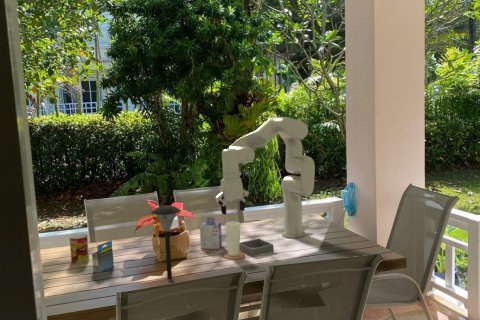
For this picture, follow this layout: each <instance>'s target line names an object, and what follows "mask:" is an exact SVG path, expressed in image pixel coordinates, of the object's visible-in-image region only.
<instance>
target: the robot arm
mask: <svg viewBox="0 0 480 320" xmlns="http://www.w3.org/2000/svg"><path fill="white" fill-rule="evenodd" d="M308 132H309V129H308V126H307V124H306V123H305V122H303V121H300V120H297V119H295V118H291V117H289V116H288V117H287V116H272V117H270V118H268V119H267V120H266V121H265V122H263V124H261V125H260V126H259V127H258V128H257V129H256V130H255V131H252V132H250V133H248V134H246V135H244V136H242V137H240V138H238V139H236V140H235V141H234V142H233V143H232V144H231V145H229V147H228V148H225V149H222V151H221V161H222V164H221V165H222V179H221V181H220V192H219V194H217V195H216V196H215V200H216V202H217V204H219V206H220V211H221V214H223V215H227V206H226V204H227V203H228V202H234V201H238V200H239V210H240V211H245V209H246V208H245V205H246V204H245V203H246V200H247V199H248V197H249V193H250V192H249V191H247V190H245V189H244V187H243V186H244V185H243V182H242V181H243V180H242V178H241V176H242V171H240V164H249V163H251V162H252V161H254V159H255V156H256V155H255V154H256V153H255V150H254V149H257V148H261V147H264V146H266V145H268V144H269V143H270V141H272V140H273V139H274V138H275V137H276V136H280V138H281V139H282V140H283V142H284V145H285V163H284V166H285V170H286V172H287V173H291V174H295V175H286V176H284V178H283V179H281V185H280V186H281V191H282V195H283V224H284V229H283V230H282V231H281V236H283V237H285V238H289V239H295V238H296V239H297V238H302V237H304V236H306V231H305V230H308V229H310V225H309V224H308V225H307V224H306V225H304V224H303V202H302V198H301V196H302V197H309V196H311V194H312V193H313V192H314V186H315V175H316V174H315V173H316V172H315V171H316V168H315V167H316V165H315V161H314V159H313V158H312V156H311V157H310V156H309V155H303V144H302V141H301V140H303V139H305V138H306V137H307V136H308ZM297 174H298V175H300V176H297Z"/></svg>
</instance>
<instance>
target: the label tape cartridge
mask: <svg viewBox="0 0 480 320" xmlns="http://www.w3.org/2000/svg"><path fill="white" fill-rule="evenodd" d="M96 247H97V251H95V252H92V253H91V257H92V260H91V261H92V271H93V273H98V274H100V273H102V272H104V271H106V270H107V271H108V270H109V269H111V268H113V267H115V262H114V254H113V253H114V250H113V240H112V239H111V240H109V241H106V242H104V243H101V244H97V246H96Z"/></svg>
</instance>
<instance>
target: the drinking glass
mask: <svg viewBox="0 0 480 320" xmlns="http://www.w3.org/2000/svg"><path fill="white" fill-rule="evenodd" d="M225 236H226V237H225V238H226V244H227V252H228V255H230V256H237V255H239V247H240V243H241V242H240V241H241V223H240V222H239V221H228V222H226V223H225Z"/></svg>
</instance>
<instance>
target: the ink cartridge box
mask: <svg viewBox="0 0 480 320" xmlns="http://www.w3.org/2000/svg"><path fill="white" fill-rule="evenodd" d="M199 237H200V239H199V240H200V249H207V250H208V249H210V250H211V249H214V250H215V249H216V250H219V249H221V248H222V247H223V241H222V240H223V239H222V237H223V236H222V223H221V222H215V218H214V217H211V218H210V217H208V218H207V221H206V222H204V221H203V222H201V223H200V224H199Z"/></svg>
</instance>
